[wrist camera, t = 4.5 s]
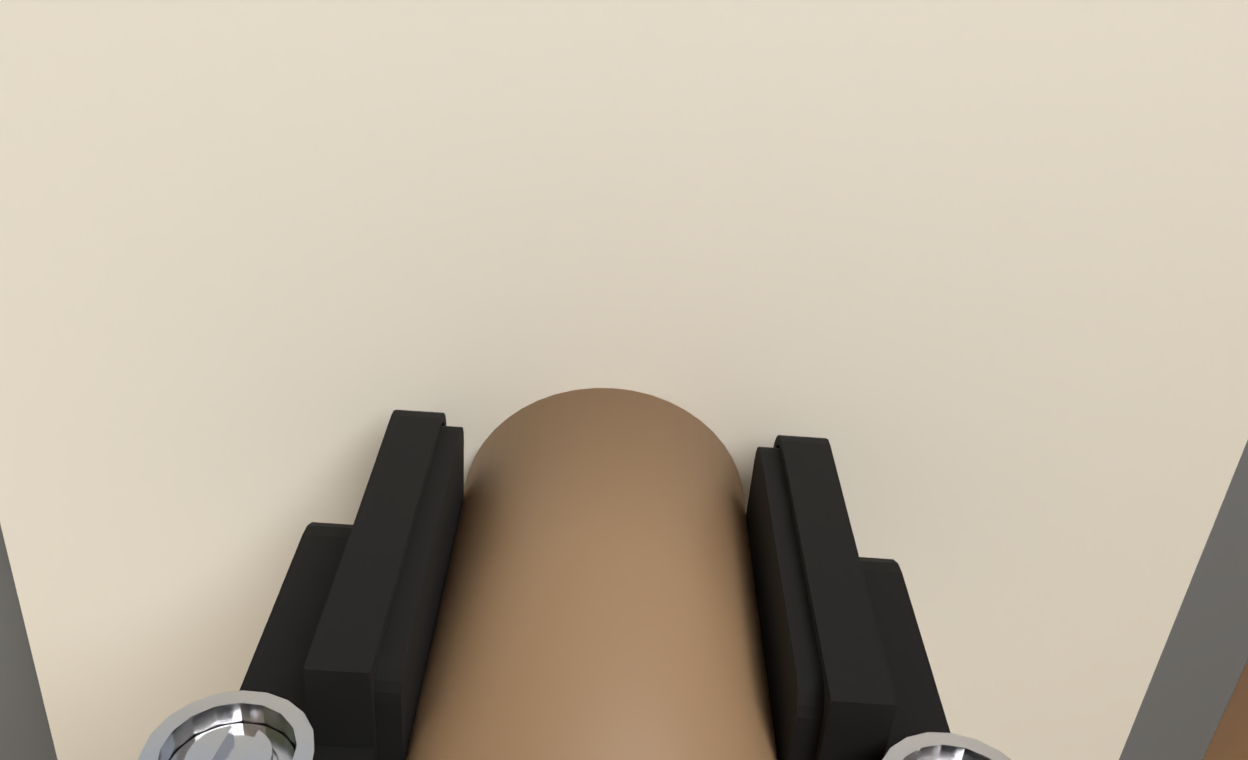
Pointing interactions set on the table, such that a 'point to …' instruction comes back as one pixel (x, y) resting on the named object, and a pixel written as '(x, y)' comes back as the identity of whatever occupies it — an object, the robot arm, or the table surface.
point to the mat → (1152, 756)
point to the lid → (621, 341)
